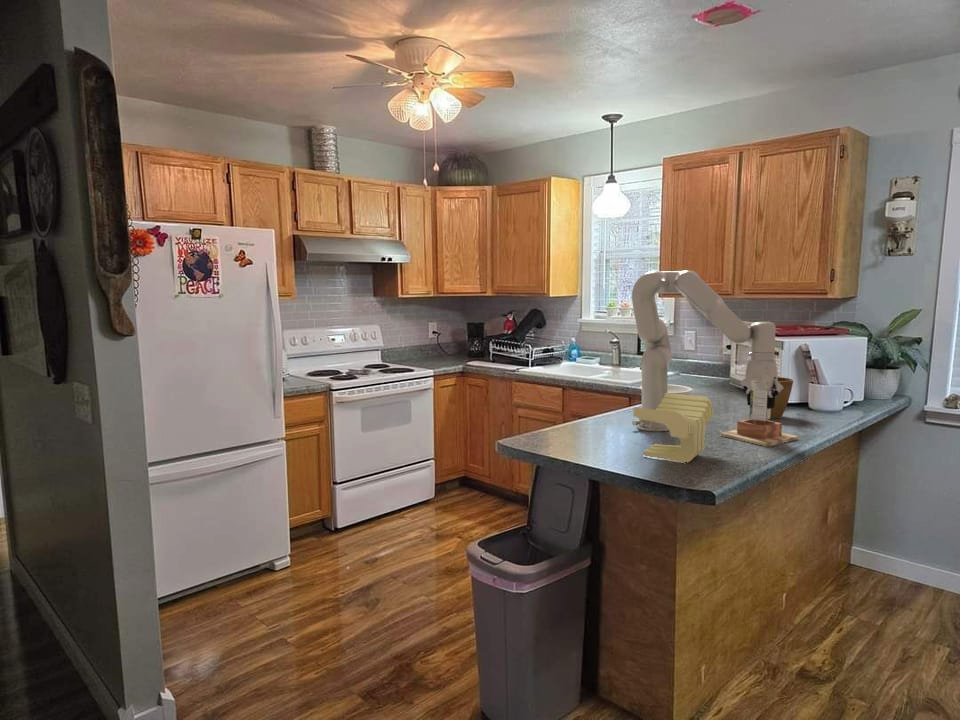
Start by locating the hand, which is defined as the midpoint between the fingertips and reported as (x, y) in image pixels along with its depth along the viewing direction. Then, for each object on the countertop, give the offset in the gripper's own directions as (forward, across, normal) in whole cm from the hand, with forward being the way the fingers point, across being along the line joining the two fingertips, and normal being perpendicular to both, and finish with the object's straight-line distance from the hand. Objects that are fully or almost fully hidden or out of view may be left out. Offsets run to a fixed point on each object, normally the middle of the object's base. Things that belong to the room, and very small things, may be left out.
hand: (760, 406), depth 216 cm
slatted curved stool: (+12, 0, -44) cm, 46 cm away
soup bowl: (+12, -66, +25) cm, 72 cm away
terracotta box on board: (+12, 0, 0) cm, 12 cm away
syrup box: (+5, 0, 0) cm, 5 cm away
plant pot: (+12, -19, +36) cm, 42 cm away
